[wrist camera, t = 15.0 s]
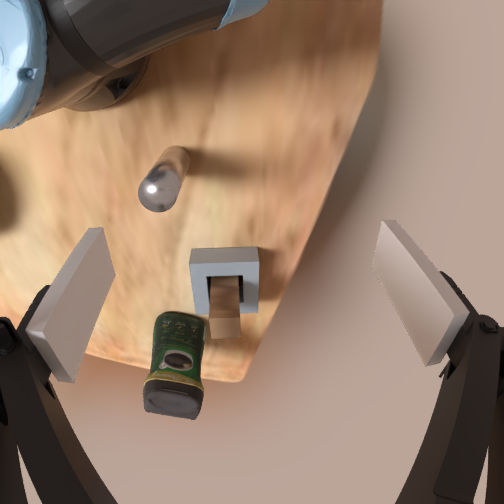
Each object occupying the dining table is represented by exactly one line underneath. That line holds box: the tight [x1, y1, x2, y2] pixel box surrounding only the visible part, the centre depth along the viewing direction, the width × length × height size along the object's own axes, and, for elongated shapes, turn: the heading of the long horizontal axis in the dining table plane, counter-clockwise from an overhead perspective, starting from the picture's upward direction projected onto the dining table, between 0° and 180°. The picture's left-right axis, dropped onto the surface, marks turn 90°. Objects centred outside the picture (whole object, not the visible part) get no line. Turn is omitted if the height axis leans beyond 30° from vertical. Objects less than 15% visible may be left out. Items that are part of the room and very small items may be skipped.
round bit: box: [138, 146, 190, 212], centre depth 35 cm, size 4×4×12 cm
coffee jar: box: [143, 312, 206, 420], centre depth 49 cm, size 10×8×19 cm
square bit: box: [209, 275, 241, 339], centre depth 46 cm, size 4×4×12 cm
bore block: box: [189, 247, 259, 315], centre depth 49 cm, size 10×10×4 cm
